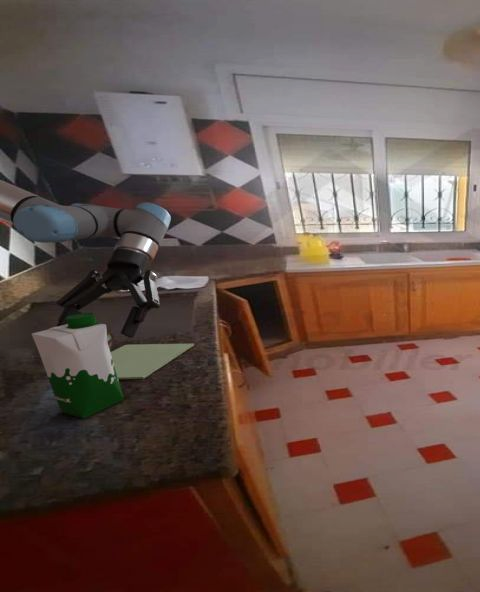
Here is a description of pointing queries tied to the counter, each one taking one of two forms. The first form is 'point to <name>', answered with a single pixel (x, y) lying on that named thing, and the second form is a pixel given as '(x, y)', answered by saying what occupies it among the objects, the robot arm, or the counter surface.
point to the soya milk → (79, 365)
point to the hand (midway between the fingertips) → (93, 336)
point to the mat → (144, 358)
